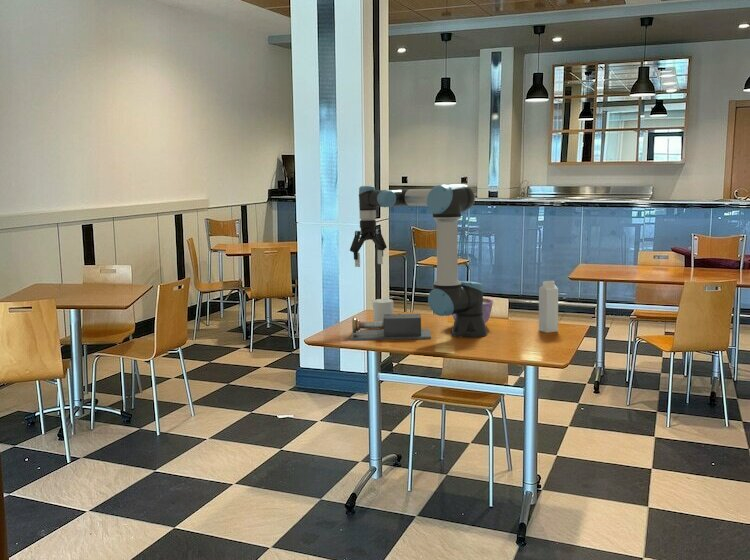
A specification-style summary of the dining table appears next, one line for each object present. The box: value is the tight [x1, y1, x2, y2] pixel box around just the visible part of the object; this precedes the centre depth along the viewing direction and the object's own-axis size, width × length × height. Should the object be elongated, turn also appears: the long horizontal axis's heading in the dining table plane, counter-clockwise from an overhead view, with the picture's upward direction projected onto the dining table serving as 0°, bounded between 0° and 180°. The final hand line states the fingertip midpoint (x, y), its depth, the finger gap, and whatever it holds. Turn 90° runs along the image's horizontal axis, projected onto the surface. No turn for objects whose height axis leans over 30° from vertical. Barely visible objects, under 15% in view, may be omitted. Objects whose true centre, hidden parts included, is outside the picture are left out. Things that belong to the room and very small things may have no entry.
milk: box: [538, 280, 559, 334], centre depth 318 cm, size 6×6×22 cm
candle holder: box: [371, 298, 394, 322], centre depth 338 cm, size 10×10×12 cm
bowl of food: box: [451, 297, 494, 324], centre depth 333 cm, size 20×20×12 cm
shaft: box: [351, 317, 384, 333], centre depth 318 cm, size 22×7×7 cm, turn 88°
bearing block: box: [350, 313, 432, 341], centre depth 318 cm, size 34×16×8 cm, turn 88°
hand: (368, 265), depth 340 cm, fingers open, 13 cm apart
